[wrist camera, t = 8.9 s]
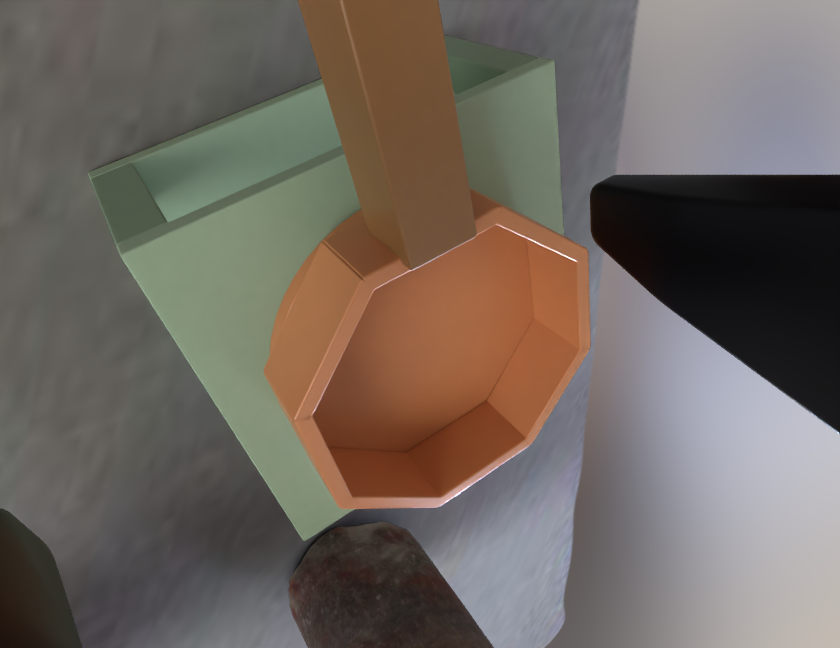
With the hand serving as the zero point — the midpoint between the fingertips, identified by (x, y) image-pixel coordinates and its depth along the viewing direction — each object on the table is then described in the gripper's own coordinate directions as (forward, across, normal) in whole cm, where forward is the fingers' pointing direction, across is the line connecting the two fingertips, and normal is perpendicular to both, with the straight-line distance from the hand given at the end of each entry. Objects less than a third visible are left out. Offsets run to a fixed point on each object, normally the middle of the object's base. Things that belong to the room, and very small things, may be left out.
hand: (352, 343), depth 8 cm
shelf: (+13, -4, +6) cm, 15 cm away
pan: (+7, -4, +3) cm, 8 cm away
